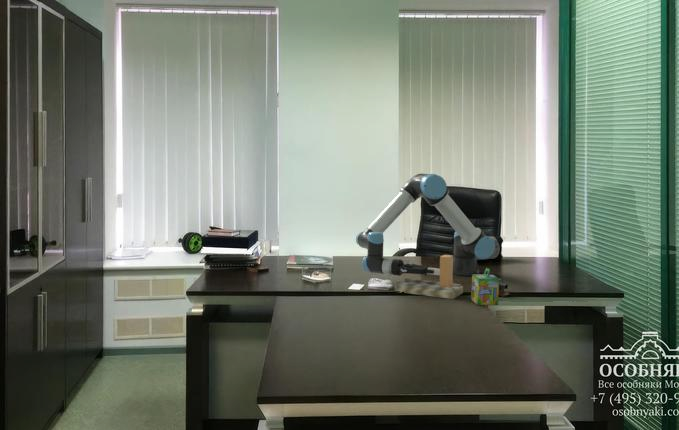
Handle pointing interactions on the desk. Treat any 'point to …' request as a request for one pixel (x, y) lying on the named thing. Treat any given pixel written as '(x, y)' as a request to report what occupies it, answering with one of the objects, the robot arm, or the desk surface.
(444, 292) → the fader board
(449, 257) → the tall orange upright pillar
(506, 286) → the electronic device
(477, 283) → the chalk box
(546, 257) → the desk surface
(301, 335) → the desk surface
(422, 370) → the desk surface
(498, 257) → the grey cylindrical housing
